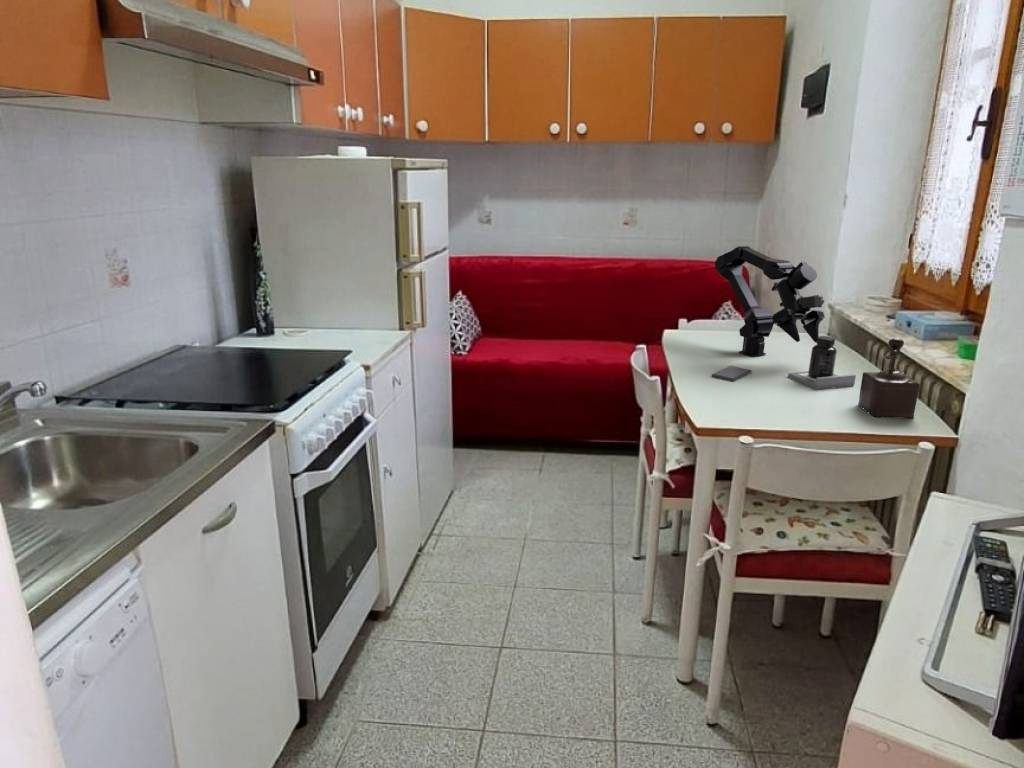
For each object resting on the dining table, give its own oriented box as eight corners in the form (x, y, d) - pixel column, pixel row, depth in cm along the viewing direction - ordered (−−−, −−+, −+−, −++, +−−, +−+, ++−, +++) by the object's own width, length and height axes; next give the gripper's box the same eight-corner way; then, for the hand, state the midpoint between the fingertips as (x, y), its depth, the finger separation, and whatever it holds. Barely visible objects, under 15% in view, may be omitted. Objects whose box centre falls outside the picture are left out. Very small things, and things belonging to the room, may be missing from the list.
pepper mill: (917, 419, 180) (930, 351, 175) (873, 417, 181) (885, 349, 175) (889, 399, 195) (901, 336, 190) (849, 398, 196) (859, 335, 190)
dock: (787, 376, 214) (789, 366, 214) (822, 373, 218) (824, 363, 217) (817, 389, 203) (819, 378, 202) (854, 385, 207) (855, 375, 206)
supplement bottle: (837, 377, 210) (843, 338, 206) (824, 381, 206) (830, 341, 202) (815, 372, 215) (821, 334, 211) (803, 375, 211) (809, 337, 207)
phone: (711, 376, 213) (712, 374, 213) (730, 368, 223) (730, 365, 222) (733, 381, 209) (734, 378, 209) (751, 372, 218) (751, 369, 218)
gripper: (792, 282, 210) (810, 329, 205) (829, 286, 220) (848, 331, 215) (763, 300, 219) (780, 345, 214) (800, 303, 229) (818, 346, 224)
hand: (807, 341), depth 216 cm, fingers open, 9 cm apart
